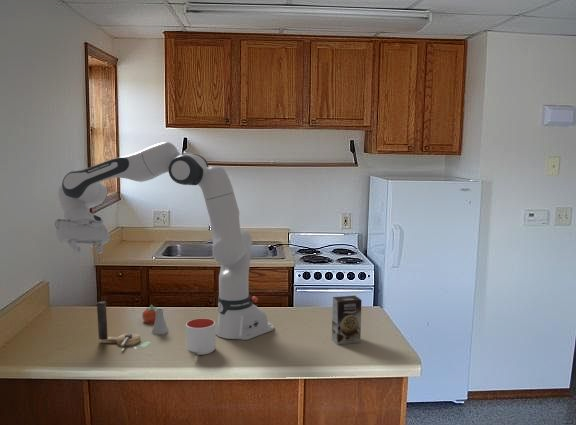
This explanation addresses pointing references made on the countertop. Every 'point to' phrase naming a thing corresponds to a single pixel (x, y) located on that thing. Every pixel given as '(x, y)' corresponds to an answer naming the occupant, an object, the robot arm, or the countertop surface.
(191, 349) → the cup
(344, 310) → the coffee box
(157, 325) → the flask
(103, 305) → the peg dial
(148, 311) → the tomato
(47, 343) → the countertop surface
